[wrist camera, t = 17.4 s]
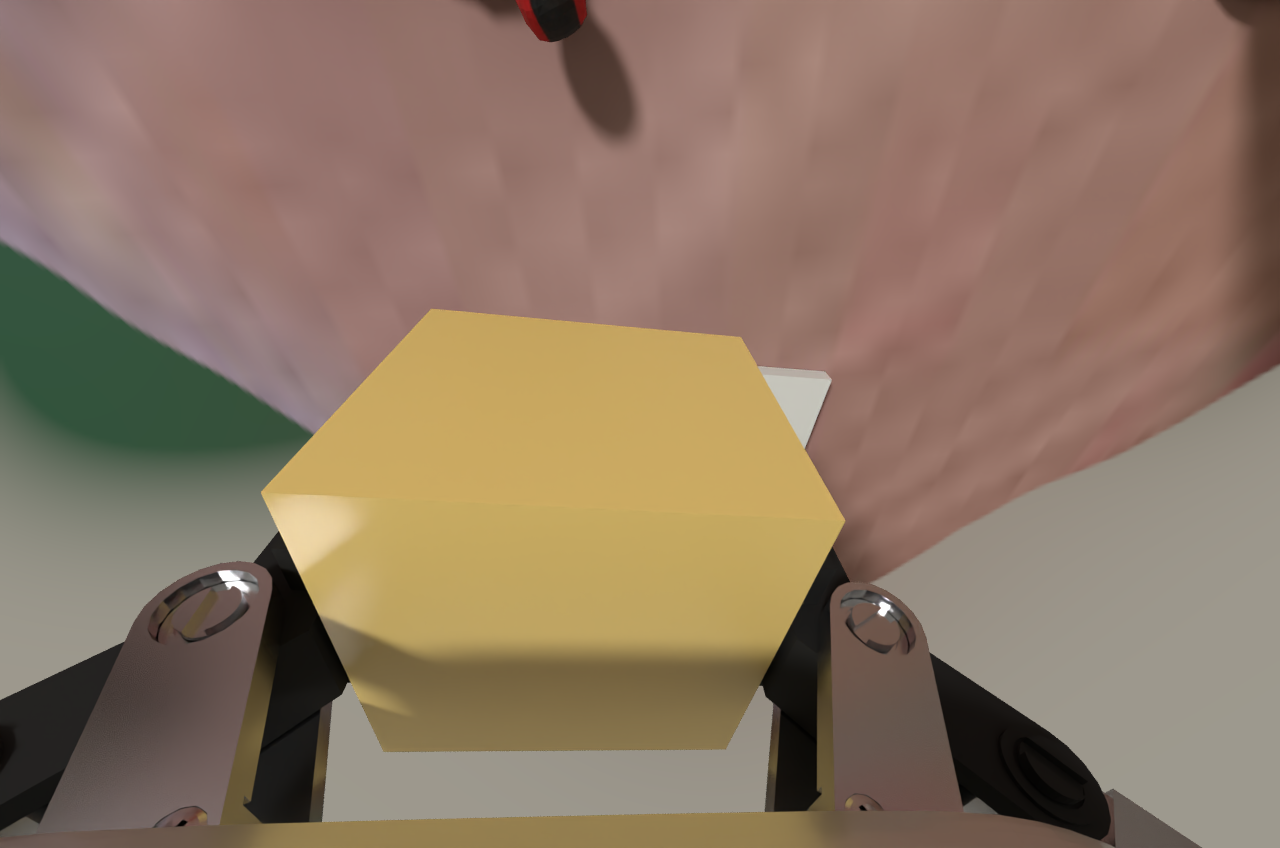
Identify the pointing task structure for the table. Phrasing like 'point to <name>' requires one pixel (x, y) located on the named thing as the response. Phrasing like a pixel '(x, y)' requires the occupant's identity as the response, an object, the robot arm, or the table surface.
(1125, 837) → the robot arm
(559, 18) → the action figure
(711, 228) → the table surface
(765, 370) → the base plate
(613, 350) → the ochre brick
